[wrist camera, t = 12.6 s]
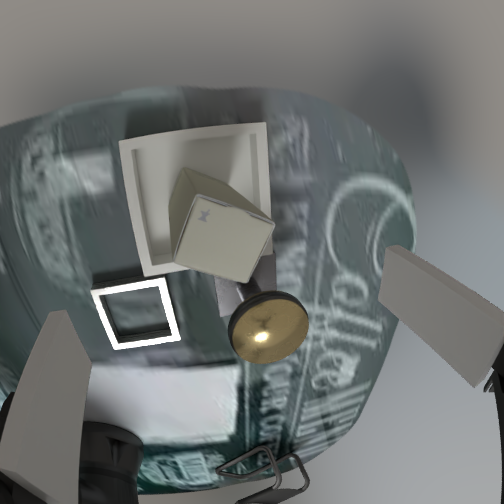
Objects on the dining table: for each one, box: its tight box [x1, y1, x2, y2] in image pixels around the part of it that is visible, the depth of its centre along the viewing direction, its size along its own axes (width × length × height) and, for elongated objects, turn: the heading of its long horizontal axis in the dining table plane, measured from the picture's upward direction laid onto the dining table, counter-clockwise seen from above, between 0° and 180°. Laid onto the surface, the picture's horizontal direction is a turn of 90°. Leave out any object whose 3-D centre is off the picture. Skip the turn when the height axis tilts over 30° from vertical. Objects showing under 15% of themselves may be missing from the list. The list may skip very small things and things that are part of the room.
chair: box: [215, 446, 310, 504], centre depth 44 cm, size 13×17×22 cm
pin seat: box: [90, 273, 180, 349], centre depth 30 cm, size 8×8×2 cm
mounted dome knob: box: [213, 251, 309, 364], centre depth 29 cm, size 7×7×10 cm
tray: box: [119, 122, 273, 277], centre depth 26 cm, size 13×13×3 cm
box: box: [168, 167, 276, 283], centre depth 22 cm, size 5×4×13 cm
